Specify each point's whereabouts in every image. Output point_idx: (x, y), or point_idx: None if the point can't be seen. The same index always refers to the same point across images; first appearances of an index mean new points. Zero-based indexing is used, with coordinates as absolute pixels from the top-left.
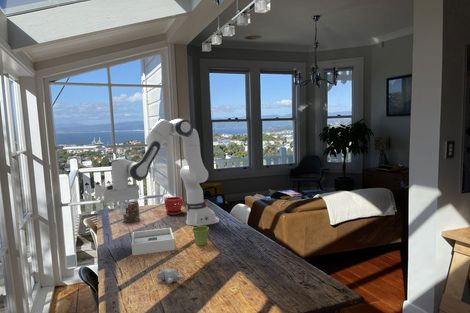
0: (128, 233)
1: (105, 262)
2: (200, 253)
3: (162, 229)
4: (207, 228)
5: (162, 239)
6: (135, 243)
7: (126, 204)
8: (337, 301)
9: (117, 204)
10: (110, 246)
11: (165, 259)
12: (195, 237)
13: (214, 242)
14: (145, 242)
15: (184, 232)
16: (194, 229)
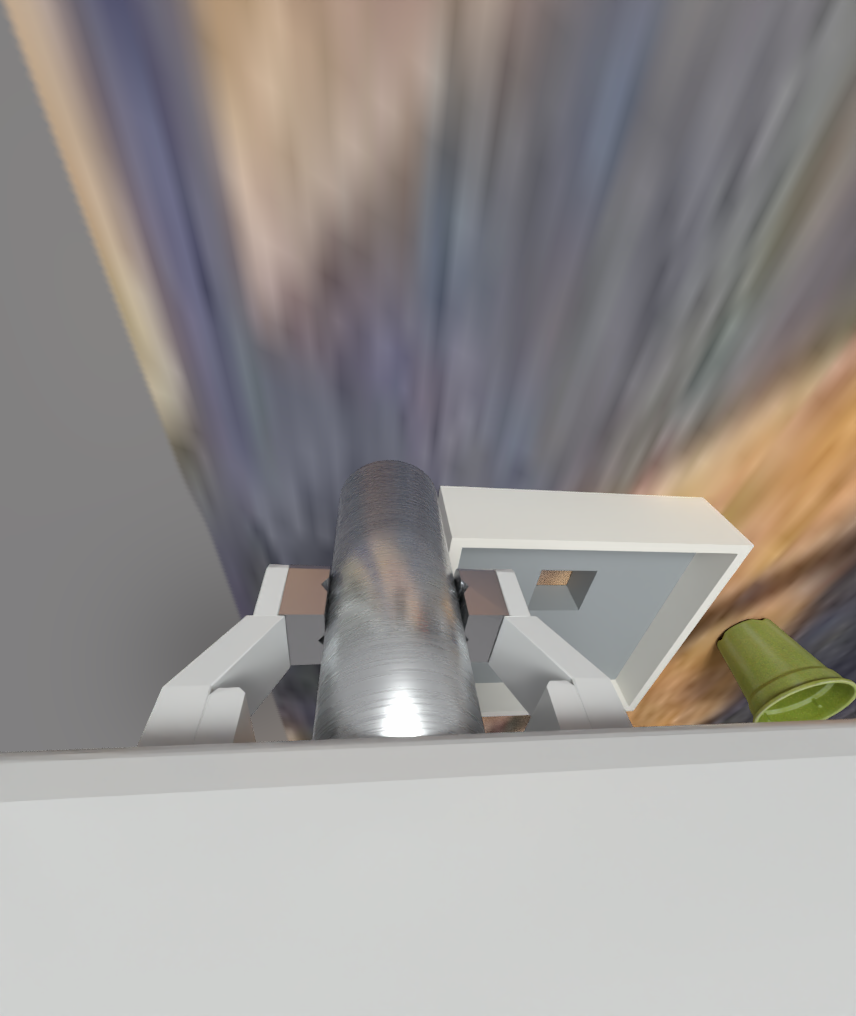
0: (428, 155)
1: (286, 690)
2: (664, 705)
3: (684, 549)
4: (842, 696)
5: (606, 616)
6: None
7: (498, 621)
8: None
9: (263, 670)
10: (270, 505)
11: (530, 717)
12: (738, 680)
13: (796, 638)
14: (489, 715)
15: (844, 430)
16: (790, 683)
